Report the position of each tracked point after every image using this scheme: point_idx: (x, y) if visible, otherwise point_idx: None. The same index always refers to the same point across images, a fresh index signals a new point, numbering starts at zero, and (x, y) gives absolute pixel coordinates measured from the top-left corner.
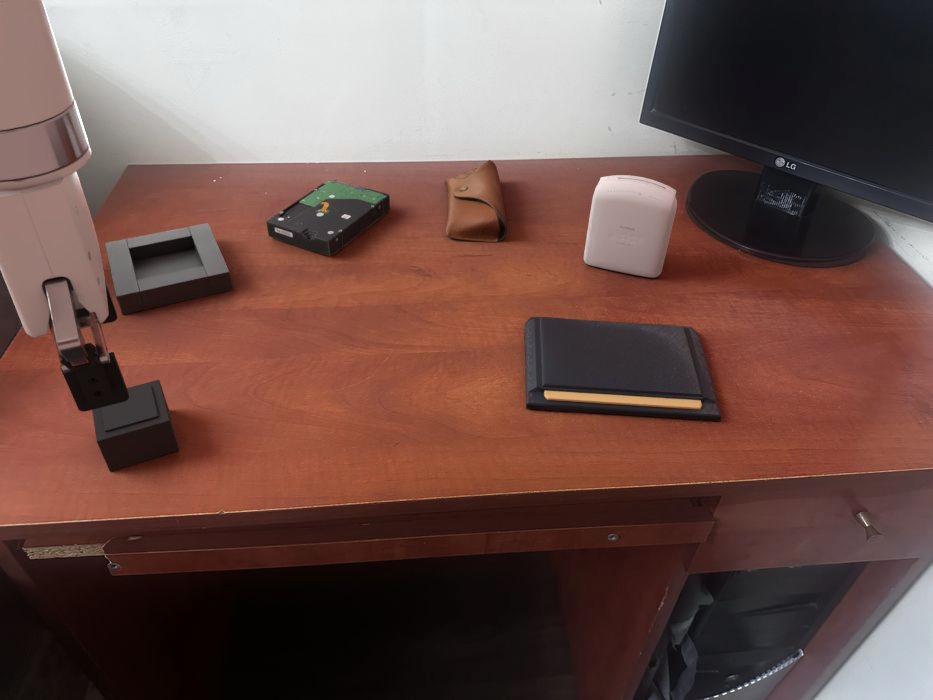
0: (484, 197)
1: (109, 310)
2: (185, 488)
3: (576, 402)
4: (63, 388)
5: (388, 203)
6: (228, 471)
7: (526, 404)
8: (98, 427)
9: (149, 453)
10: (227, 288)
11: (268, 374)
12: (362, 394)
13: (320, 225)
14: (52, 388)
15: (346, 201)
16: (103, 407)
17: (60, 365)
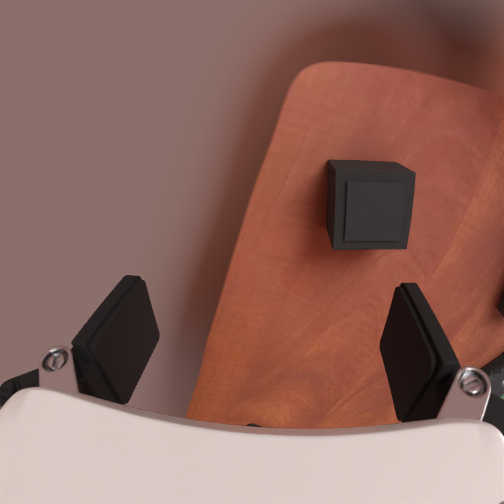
0: None
1: (385, 361)
2: (272, 226)
3: None
4: (468, 137)
5: None
6: (277, 264)
7: (251, 426)
8: (359, 174)
9: (328, 204)
10: (499, 305)
11: (385, 318)
12: (316, 369)
13: (495, 381)
14: (472, 127)
15: (500, 395)
16: (389, 185)
17: (79, 344)
